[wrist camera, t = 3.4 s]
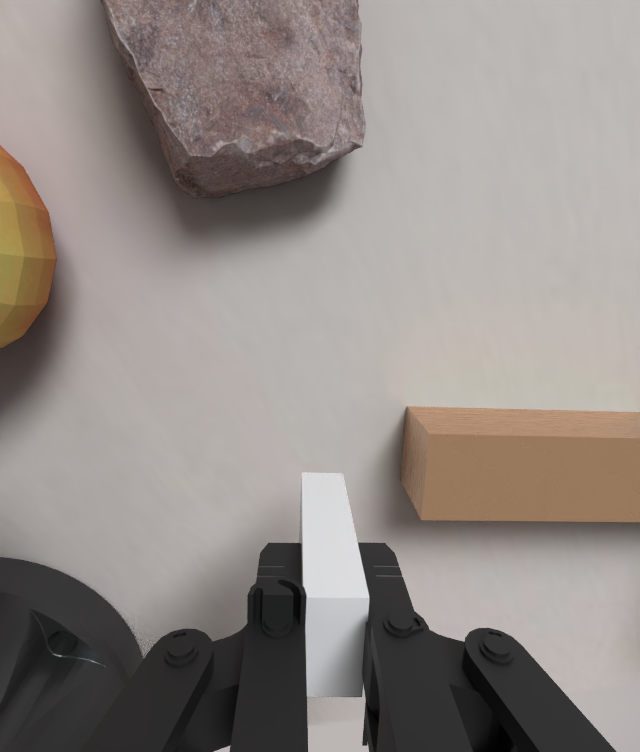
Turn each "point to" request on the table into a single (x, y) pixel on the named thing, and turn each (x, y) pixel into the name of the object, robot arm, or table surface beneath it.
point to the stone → (244, 86)
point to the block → (522, 464)
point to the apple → (22, 251)
